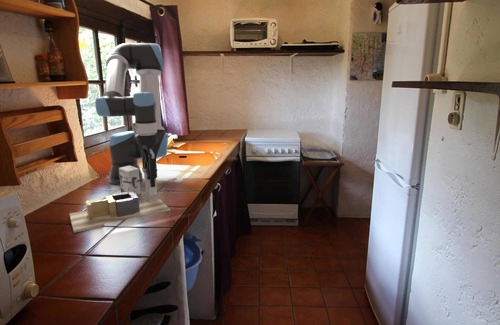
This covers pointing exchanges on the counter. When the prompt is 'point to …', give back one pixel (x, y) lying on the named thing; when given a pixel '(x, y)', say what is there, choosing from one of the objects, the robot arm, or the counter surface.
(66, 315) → the counter surface
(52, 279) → the counter surface
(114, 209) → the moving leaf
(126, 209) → the dark grey hollow housing
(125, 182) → the ink box
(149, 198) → the grey long block
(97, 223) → the mounting board
